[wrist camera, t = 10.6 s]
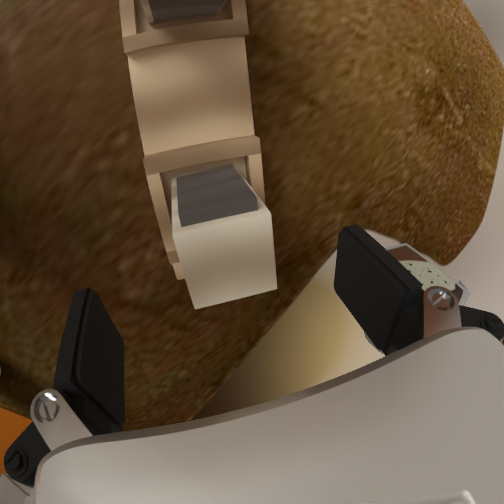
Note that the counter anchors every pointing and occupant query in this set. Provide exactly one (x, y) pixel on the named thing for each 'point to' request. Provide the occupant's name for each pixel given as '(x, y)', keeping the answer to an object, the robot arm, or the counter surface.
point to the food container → (426, 273)
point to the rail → (190, 95)
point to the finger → (222, 236)
